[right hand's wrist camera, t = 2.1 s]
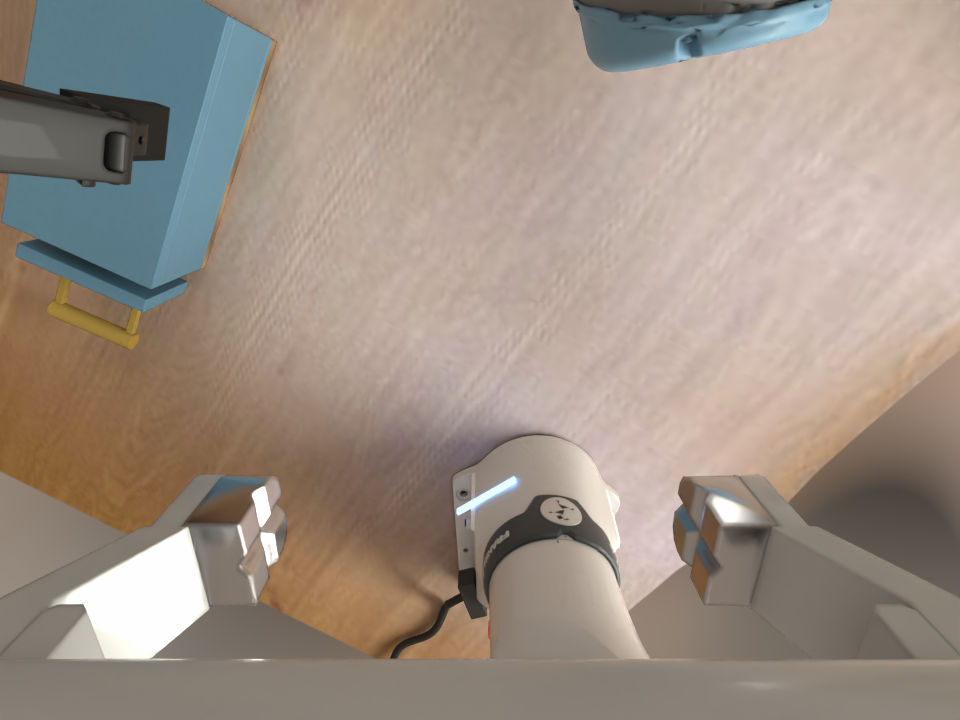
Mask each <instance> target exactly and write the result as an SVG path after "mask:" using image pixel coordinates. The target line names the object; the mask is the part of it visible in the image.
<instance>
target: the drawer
mask: <svg viewBox="0 0 960 720" xmlns="http://www.w3.org/2000/svg"><path fill="white" fill-rule="evenodd" d="M16 257H18V258H20V259H23V260H25V261H27V262H30V263H32V264H34V265H36V266H39V267H41V268H43V269H45V270H48V271H50V272H52V273H54V274H57V275H59V276H60V279H59V284H58V289H57V294H56V298H55V300H54V301H52V302H51V303H50V304H49V305H48V307H47V311H46V312H47V314H48V315H50V316H52V317H54V318H57V319H59V320H61V321H64V322H66V323H68V324H71V325H73V326H75V327H78V328H80V329H82V330H85V331H87V332H89V333H92V334H94V335H96V336H99V337H101V338H103V339H106V340H108V341H111V342H113V343H115V344H118V345H120V346H122V347H125V348H127V349H133V348H134V347H135V346H136V344H137V343H138V341H139V335H138V334H136V330H137V326H138V323H139V319H140V315H141V312H145V311H147V310H149V309H151V308H153V307H155V306H157V305H160V304H162V303H164V302H166V301H168V300H170V299H172V298H174V297H176V296H178V295H181V294H183V293H184V292H185V290H186V286H187V283H188V282H187V281H185V280H183V279H181V278H177V279H174V280H172V281H170V282H167V283H165V284H163V285H160V286H158V287H155V288H153V289H149V288H147V287H145V286H142V285H140V284H138V283H136V282H134V281H131V280H129V279H127V278H125V277H122V276H120V275H118V274H116V273H114V272H111V271H109V270H107V269H105V268H102V267H100V266H98V265H96V264H94V263H91V262H89V261H87V260H85V259H82V258H80V257H78V256H76V255H74V254H71V253H69V252H67V251H65V250H62V249H60V248H58V247H56V246H54V245H51V244H49V243H47V242H45V241H42V240H40V239H36V240H31V241H26V242H21V243H18V245H17V251H16ZM71 281H73V282H75V283H77V284H79V285H82V286H84V287H86V288H89V289H91V290H93V291H95V292H98V293H100V294H102V295H104V296H107V297H109V298H111V299H113V300H116V301H118V302H120V303H123V304H125V305H127V306H129V307H132V310H131V314H130V317H129V321H128V325H127V328H126V329H124V328H122V327H120V326H117V325H115V324H113V323H110V322H108V321H106V320H103V319H101V318H99V317H97V316H94V315H92V314H90V313H87V312H85V311H83V310H80V309H78V308H76V307H73V306H71V305H69V304H66V301H67V297H68V292H69V288H70V283H71Z"/></svg>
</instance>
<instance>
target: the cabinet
mask: <svg viewBox="0 0 960 720" xmlns="http://www.w3.org/2000/svg"><path fill="white" fill-rule="evenodd" d="M275 45H276V41H275V40H273V39H271V38H269V37H267V36H266V35H264V34H262V33H260V32H258V31H257V30H255V29H253V28H251V27H249V26H248V25H246V24H244V23H242V22H240V21H239V20H237V19H235V18H233V17H232V16H230V15H228V14H226V13H224V12H223V11H221V10H219V9H217V8H215V7H214V6H212V5H210V4H208V3H206V2H205V1H203V0H37V4H36V10H35V16H34V22H33V29H32V35H31V41H30V47H29V53H28V59H27V66H26V72H25V78H24V84H23V86H26V87H30V88H34V89H38V90H42V91H47V92H51V93H55V94H59V93H60V88H62V89H69V90H76V91H82V92H89V93H96V94H102V95H109V96H116V97H122V98H129V99H136V100H142V101H149V102H156V103H158V104H161V105H164V106H167V107H170V114H169V124H168V134H167V144H166V154H165V160H162V161H133V163H132V174H131V184H128V185H124V184H120V185H112V184H109V183H103V182H96V186H95V187H82V185H80V184H79V183H78V182H77V181H76V180H71V179H61V178H50V177H40V176H29V175H18V174H9V177H8V183H7V189H6V195H5V202H4V208H3V214H2V220H1V222H2V223H5V224H7V225H9V226H11V227H14V228H16V229H18V230H20V231H22V232H25V233H27V234H29V235H31V236H34V237H36V238H38V239H40V240H42V241H45V242H47V243H49V244H51V245H54V246H56V247H58V248H60V249H62V250H65V251H67V252H69V253H71V254H74V255H76V256H78V257H80V258H82V259H85V260H87V261H89V262H91V263H94V264H96V265H98V266H100V267H102V268H105V269H107V270H109V271H111V272H114V273H116V274H118V275H120V276H122V277H125V278H127V279H129V280H131V281H134V282H136V283H138V284H140V285H142V286H145V287H147V288H149V289H153V288H155V287H158V286H160V285H163V284H165V283H167V282H170V281H172V280H174V279H177V278H179V277H182V276H184V275H186V274H189V273H191V272H194V271H196V270H198V269H202V268H204V267H205V266H206V263H207V260H208V257H209V253H210V250H211V247H212V244H213V241H214V238H215V234H216V231H217V228H218V225H219V222H220V219H221V216H222V212H223V209H224V206H225V203H226V200H227V197H228V193H229V190H230V187H231V184H232V181H233V178H234V175H235V171H236V168H237V165H238V162H239V159H240V156H241V152H242V149H243V146H244V143H245V140H246V137H247V134H248V130H249V127H250V124H251V121H252V118H253V115H254V112H255V108H256V105H257V102H258V99H259V96H260V93H261V89H262V86H263V83H264V80H265V77H266V74H267V71H268V67H269V64H270V61H271V58H272V55H273V52H274V48H275Z"/></svg>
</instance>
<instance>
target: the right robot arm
mask: <svg viewBox="0 0 960 720" xmlns="http://www.w3.org/2000/svg"><path fill="white" fill-rule="evenodd" d="M452 487H453V500H454V513H455V525H456V538H457V551H458V564H459V576H458V589H459V591H460V594H458V595H456V596H454V597H452V598H451V599H449V600H447V601H445V603H444V605H443V606H442V609H441V611H440V614H439V616H438V619H437V621H436V623H435V624H434V625H433V627H432V628H431V629H430V630H428V631H427V632H425V633H423V634H420V635H417V636H414V637H411V638H408V639H406V640H404V641H402V642H400V643H399V644H398V645H397V646H396V647H395V649H394V651H393V653H392V655H391V658H390V659H150V658H152V657H153V656H154V655H155V654H156V653H157V652H159V651H160V650H161V649H162V648H163V647H165V646H166V645H167V644H168V643H169V642H171V641H172V640H173V639H174V638H175V637H177V636H178V635H179V634H180V633H181V632H183V631H184V630H185V629H186V628H187V627H188V626H190V625H191V624H192V623H193V622H194V621H196V620H197V619H198V618H199V617H200V616H202V615H203V614H204V613H205V612H206V611H208V610H209V606H242V605H256V604H257V602H258V600H259V598H260V596H261V594H262V592H263V590H264V588H265V586H266V584H267V582H268V580H269V578H270V576H269V571H268V567H269V566H270V565H272V564H273V563H275V562H276V561H278V560H279V558H280V555H281V553H282V551H283V549H284V545H285V540H286V536H287V519H286V513H285V511H284V510H283V509H282V508H281V507H280V506H279V505H278V504H277V502H278V500H279V498H280V497H281V495H282V490H281V486H280V481H279V479H278V478H277V477H276V476H266V475H200V476H196V477H195V478H194V479H193V480H192V481H191V482H190V483H189V485H188V486H187V487H186V488H185V489H184V490H183V491H182V492H181V494H180V495H179V496H178V497H177V498H176V499H175V500H174V501H173V503H172V504H171V505H170V506H169V507H168V508H167V509H166V510H165V512H164V513H163V514H162V515H161V516H160V517H159V518H158V519H157V521H156V522H155V523H154V524H153V525H152V526H151V527H141V528H139V529H137V530H135V531H133V532H131V533H129V534H127V535H125V536H123V537H121V538H119V539H117V540H115V541H113V542H111V543H109V544H107V545H105V546H103V547H101V548H99V549H97V550H95V551H93V552H91V553H89V554H87V555H85V556H83V557H81V558H79V559H77V560H75V561H73V562H71V563H69V564H67V565H65V566H63V567H61V568H59V569H57V570H55V571H53V572H51V573H49V574H47V575H45V576H43V577H41V578H39V579H37V580H35V581H33V582H31V583H29V584H27V585H25V586H23V587H21V588H19V589H17V590H15V591H13V592H11V593H9V594H7V595H5V596H3V597H1V598H0V720H960V598H959V597H957V596H955V595H953V594H951V593H949V592H947V591H945V590H943V589H941V588H939V587H937V586H935V585H933V584H931V583H929V582H927V581H925V580H923V579H921V578H919V577H917V576H915V575H913V574H911V573H909V572H907V571H905V570H903V569H901V568H899V567H897V566H895V565H893V564H891V563H889V562H887V561H885V560H883V559H881V558H879V557H877V556H875V555H873V554H871V553H869V552H867V551H865V550H863V549H861V548H859V547H857V546H855V545H853V544H851V543H849V542H847V541H845V540H843V539H841V538H839V537H837V536H835V535H833V534H831V533H829V532H827V531H825V530H823V529H821V528H819V527H809V526H808V525H807V524H806V523H805V522H804V521H803V519H802V518H801V517H800V516H799V515H798V514H797V513H796V512H795V510H794V509H793V508H792V507H791V506H790V505H789V504H788V503H787V501H786V500H785V499H784V498H783V497H782V496H781V495H780V494H779V492H778V491H777V490H776V489H775V488H774V487H773V486H772V485H771V483H770V482H769V481H768V480H767V479H766V478H765V477H763V476H761V475H759V474H750V475H733V476H683V478H682V480H681V482H680V485H679V490H678V495H679V497H680V498H681V500H682V502H683V504H682V505H681V506H680V507H679V508H678V509H677V510H676V511H675V513H674V521H673V534H674V542H675V545H676V549H677V551H678V553H679V556H680V558H681V560H682V561H684V562H685V563H687V564H688V565H690V566H691V567H692V571H691V576H690V578H691V580H692V582H693V584H694V586H695V588H696V590H697V592H698V594H699V596H700V598H701V600H702V602H703V604H704V605H717V606H751V610H753V611H754V612H755V613H756V614H757V615H759V616H760V617H761V618H762V619H763V620H765V621H766V622H767V623H768V624H769V625H771V626H772V627H773V628H774V629H775V630H776V631H778V632H779V633H780V634H781V635H782V636H784V637H785V638H786V639H787V640H788V641H790V642H791V643H792V644H793V645H794V646H796V647H797V648H798V649H799V650H800V651H801V652H803V653H804V654H805V655H806V656H807V657H809V658H810V659H650V657H649V656H648V654H647V653H646V651H645V649H644V648H643V646H642V644H641V642H640V640H639V637H638V635H637V633H636V630H635V628H634V626H633V623H632V621H631V618H630V616H629V613H628V611H627V608H626V605H625V603H624V600H623V597H622V594H621V592H620V575H619V569H618V568H619V567H618V562H617V558H616V555H615V551H616V548H619V546H620V538H619V534H618V530H617V526H616V522H615V518H614V515H615V513H616V511H617V510H618V508H619V505H620V501H619V496H618V494H617V493H616V491H615V490H614V489H612V488H611V487H610V486H609V485H608V484H606V483H605V482H604V481H603V480H602V478H601V476H600V474H599V472H598V470H597V467H596V465H595V464H594V462H593V461H592V459H591V458H590V457H589V456H588V455H587V453H586V452H584V451H583V450H582V449H581V448H579V447H578V446H576V445H575V444H573V443H571V442H569V441H566V440H564V439H561V438H557V437H553V436H545V435H533V436H525V437H520V438H517V439H513V440H511V441H508V442H506V443H504V444H502V445H500V446H499V447H497V448H496V449H494V450H493V451H492V452H490V453H489V454H488V455H487V456H486V457H485V458H484V459H483V460H482V461H481V462H479V463H478V464H477V465H475V466H472V467H469V468H467V469H464V470H462V471H460V472H458V473H457V474H455V475H454V477H453V479H452ZM461 491H466V493H462V492H461ZM462 601H464V603H465V605H466V608H467V610H468V612H469V615H470V617H471V619H475V618H480V617H484V616H487V608H488V609H489V612H490V619H489V624H488V637H489V639H490V659H397V658H398V655H399V654H400V652H401V651H402V650H403V649H404V648H406V647H408V646H410V645H413V644H416V643H419V642H422V641H425V640H427V639H429V638H431V637H433V636H434V635H435V634H436V633H437V632H438V631H439V629H440V628H441V626H442V624H443V622H444V620H445V617H446V615H447V612H448V610H449V609H450V608H451V607H453V606H454V605H456V604H458V603H460V602H462Z"/></svg>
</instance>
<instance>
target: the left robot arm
mask: <svg viewBox="0 0 960 720" xmlns="http://www.w3.org/2000/svg"><path fill="white" fill-rule="evenodd" d="M830 3H831V0H573V4H574V7H575V9H576V11H577V12H578V13H579V16H580V21H581V25H582V30H583V35H584V40H585V45H586V50H587V53H588V55H589V58H590V59H591V61H592V62H593V63H594V64H595V65H596V66H597V67H599V68H600V69H602V70H604V71H608V72H624V71H632V70H639V69H645V68H651V67H656V66H662V65H667V64H672V63H676V62H681V61H685V60H688V59H690V58H693V57H694V58H700V57H704V56H709V55H716V54H722V53H726V52H731V51H736V50H740V49H745V48H749V47H753V46H758V45H762V44H766V43H770V42H774V41H778V40H782V39H786V38H789V37H793V36H797V35H800V34H804V33H806V32H809V31H812V30H814V29H816V28H818V27H819V26H820V25H821V24H822V23H823V22H824V21H825V20H826V18H827V16H828V13H829V9H830ZM169 114H170V107H167V106H164V105H161V104H158V103H156V102H149V101H142V100H136V99H129V98H122V97H116V96H109V95H102V94H96V93H89V92H82V91H76V90H69V89H62V88H60V93H59V94H55V93H51V92H47V91H42V90H38V89H34V88H30V87H26V86H22V85H18V84H14V83H10V82H6V81H2V80H0V173H8V174H18V175H29V176H40V177H50V178H61V179H71V180H76V181H77V182H78V183H79V184H80V185H82V187H95V186H96V182H103V183H109V184H112V185H120V184H124V185H128V184H131V174H132V163H133V161H162V160H165V154H166V144H167V134H168V124H169Z"/></svg>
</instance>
